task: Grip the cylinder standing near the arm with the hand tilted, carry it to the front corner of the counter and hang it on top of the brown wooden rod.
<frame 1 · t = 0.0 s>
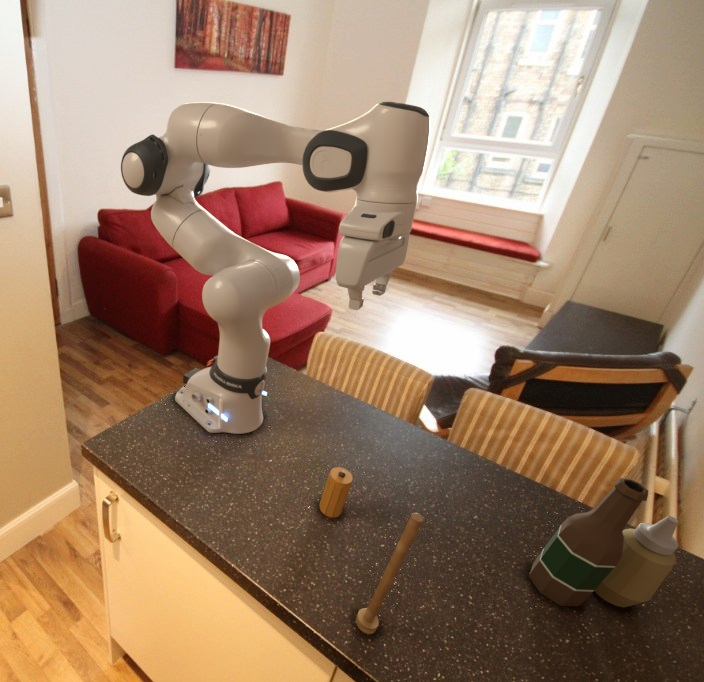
hand: (367, 301, 76), 39 cm above the breakfast bar, tool pointing down, fingers open, 8 cm apart
brown wooden rod: (365, 623, 67), on the breakfast bar
squeeze bottle: (607, 591, 75), on the breakfast bar
cylinder: (330, 508, 86), on the breakfast bar
beer bottle: (553, 586, 75), on the breakfast bar
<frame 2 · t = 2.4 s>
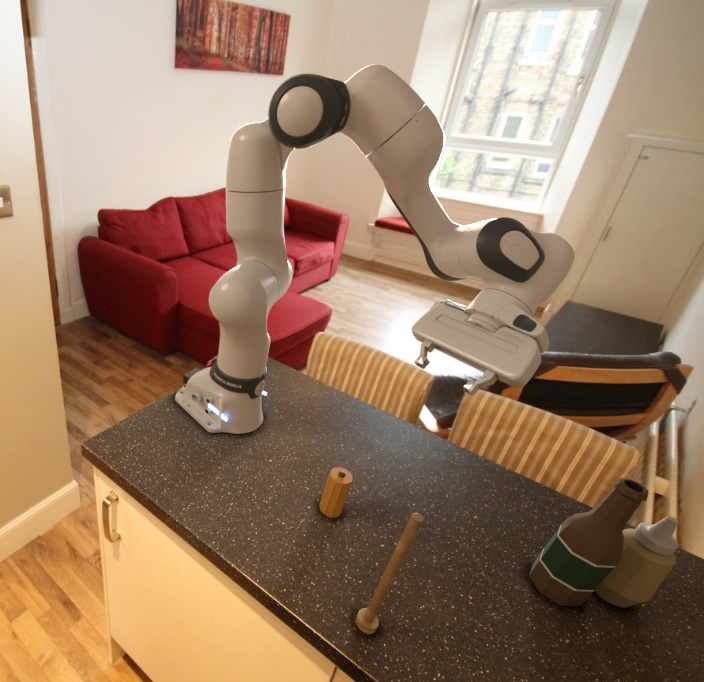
hand: (441, 378, 78), 27 cm above the breakfast bar, tool tilted 45°, fingers open, 8 cm apart
nothing on the breakfast bar moved.
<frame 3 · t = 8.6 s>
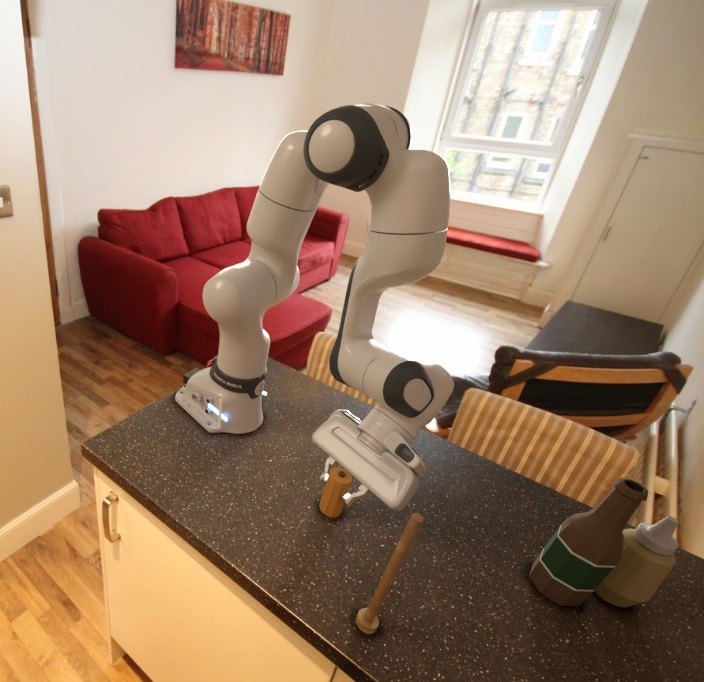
hand: (333, 492, 83), 5 cm above the breakfast bar, tool tilted 45°, fingers closed on cylinder, 4 cm apart
cylinder: (330, 508, 86), on the breakfast bar, touching gripper
everything else where it was.
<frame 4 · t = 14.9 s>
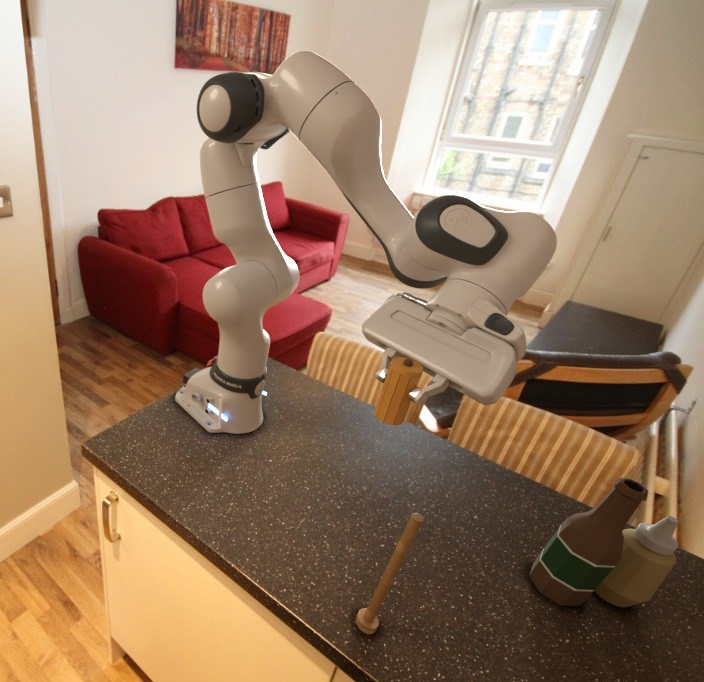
hand: (396, 390, 62), 34 cm above the breakfast bar, tool tilted 45°, fingers closed on cylinder, 4 cm apart
cylinder: (388, 416, 65), point 29 cm above the breakfast bar, touching gripper
everything else where it was.
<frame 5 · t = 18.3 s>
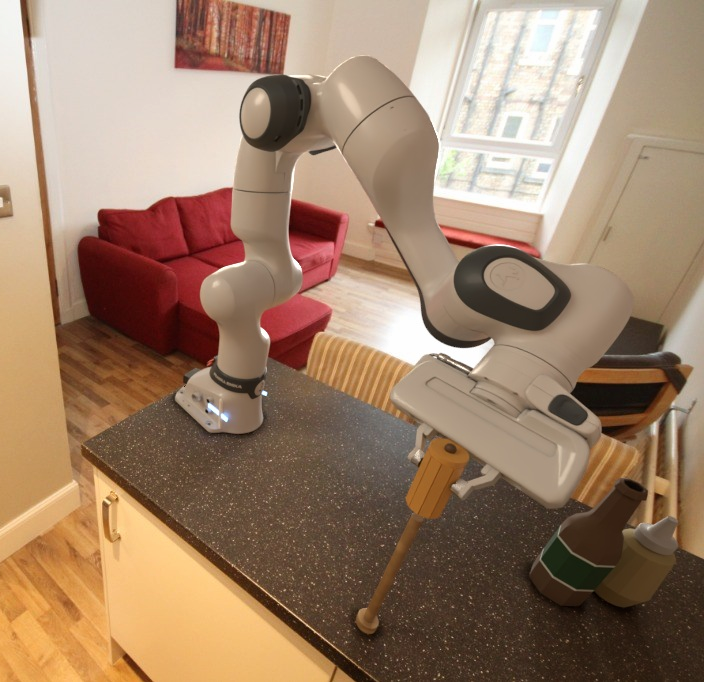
hand: (434, 478, 52), 31 cm above the breakfast bar, tool tilted 45°, fingers closed on cylinder, 4 cm apart
cylinder: (423, 505, 54), point 26 cm above the breakfast bar, touching gripper
everything else where it was.
when the fingers open (21 cm above the breakfast bar, at t = 21.5 s): cylinder stays where it is, resting on brown wooden rod.
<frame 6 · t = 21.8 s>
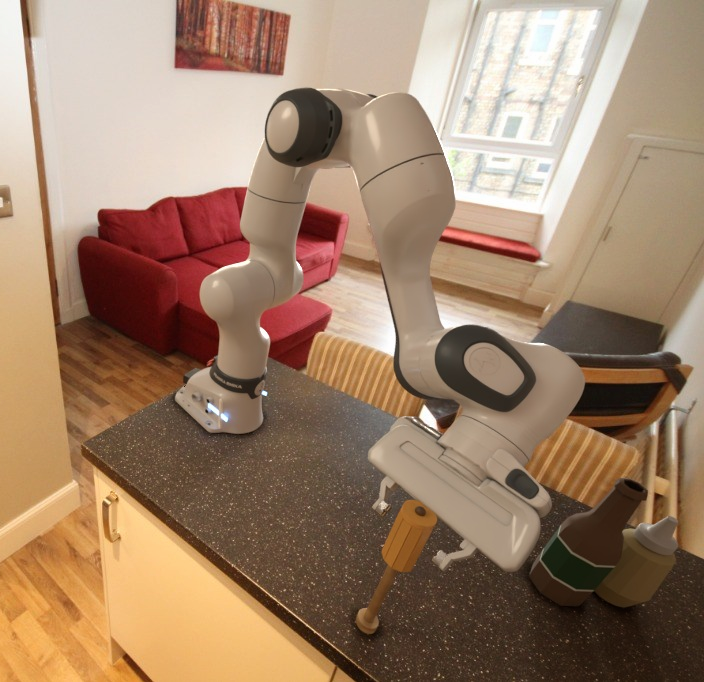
hand: (405, 537, 57), 20 cm above the breakfast bar, tool tilted 45°, fingers open, 7 cm apart
cylinder: (397, 558, 59), point 16 cm above the breakfast bar, touching brown wooden rod
everything else where it was.
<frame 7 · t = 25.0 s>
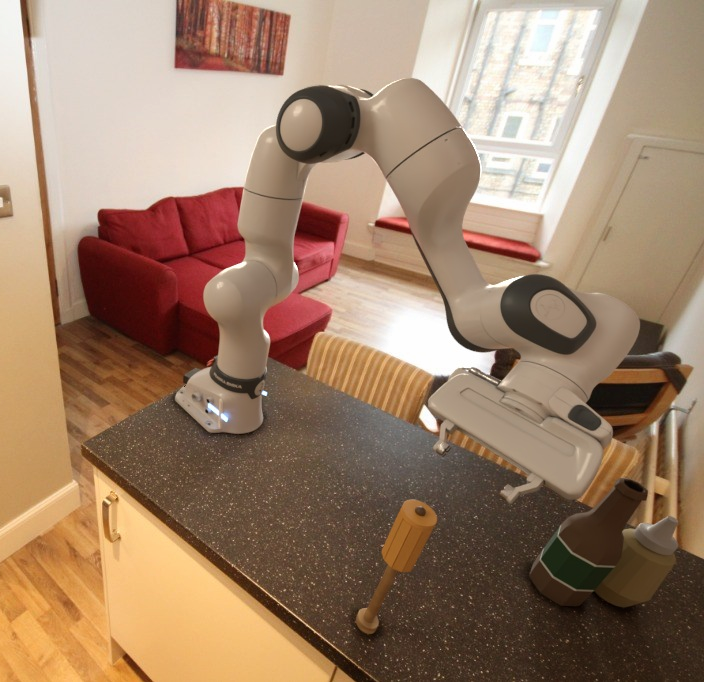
hand: (469, 474, 61), 25 cm above the breakfast bar, tool tilted 45°, fingers open, 8 cm apart
nothing on the breakfast bar moved.
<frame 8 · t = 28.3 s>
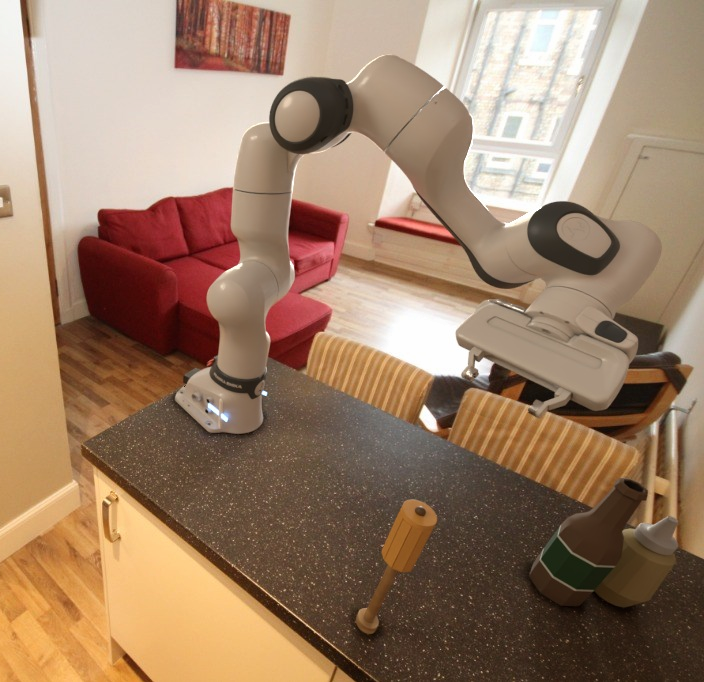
hand: (497, 395, 64), 33 cm above the breakfast bar, tool tilted 45°, fingers open, 8 cm apart
nothing on the breakfast bar moved.
at the end: cylinder 0.1 cm off-centre on the brown wooden rod, point 15.8 cm above the brown wooden rod's base; the gripper is holding nothing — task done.
